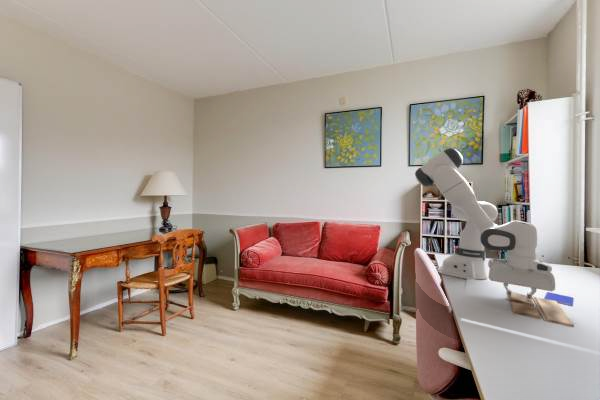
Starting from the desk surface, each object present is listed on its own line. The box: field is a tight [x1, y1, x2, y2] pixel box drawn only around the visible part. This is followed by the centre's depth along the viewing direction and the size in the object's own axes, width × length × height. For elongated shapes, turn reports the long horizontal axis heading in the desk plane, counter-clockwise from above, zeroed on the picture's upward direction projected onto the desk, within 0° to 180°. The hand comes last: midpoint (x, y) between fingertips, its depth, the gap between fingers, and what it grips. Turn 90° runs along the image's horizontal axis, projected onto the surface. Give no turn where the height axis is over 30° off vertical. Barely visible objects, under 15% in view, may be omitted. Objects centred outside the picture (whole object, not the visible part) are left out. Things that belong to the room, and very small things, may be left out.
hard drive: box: [543, 291, 575, 307], centre depth 107 cm, size 2×8×12 cm
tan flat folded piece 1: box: [510, 301, 541, 320], centre depth 95 cm, size 7×10×1 cm
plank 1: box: [508, 290, 535, 307], centre depth 105 cm, size 7×10×1 cm
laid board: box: [532, 296, 575, 327], centre depth 95 cm, size 7×23×1 cm, turn 146°
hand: (518, 296), depth 105 cm, fingers open, 5 cm apart
